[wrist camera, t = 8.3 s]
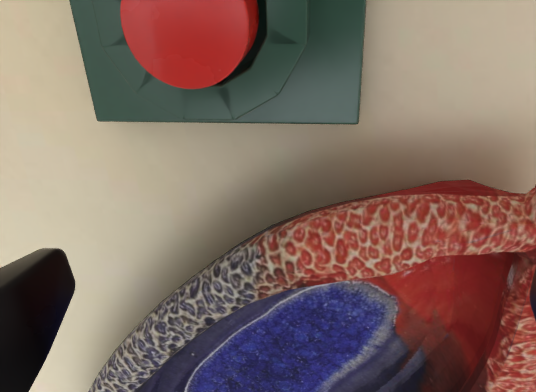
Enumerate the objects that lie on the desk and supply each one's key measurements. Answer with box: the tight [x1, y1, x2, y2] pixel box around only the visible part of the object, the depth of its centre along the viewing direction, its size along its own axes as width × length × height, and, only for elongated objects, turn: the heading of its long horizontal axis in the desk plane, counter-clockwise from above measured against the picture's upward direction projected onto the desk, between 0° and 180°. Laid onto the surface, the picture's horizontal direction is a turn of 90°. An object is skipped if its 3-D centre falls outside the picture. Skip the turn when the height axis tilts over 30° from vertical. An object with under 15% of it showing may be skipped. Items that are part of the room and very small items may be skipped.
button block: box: [70, 0, 366, 124], centre depth 15 cm, size 10×8×3 cm
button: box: [120, 0, 259, 89], centre depth 13 cm, size 4×4×2 cm
